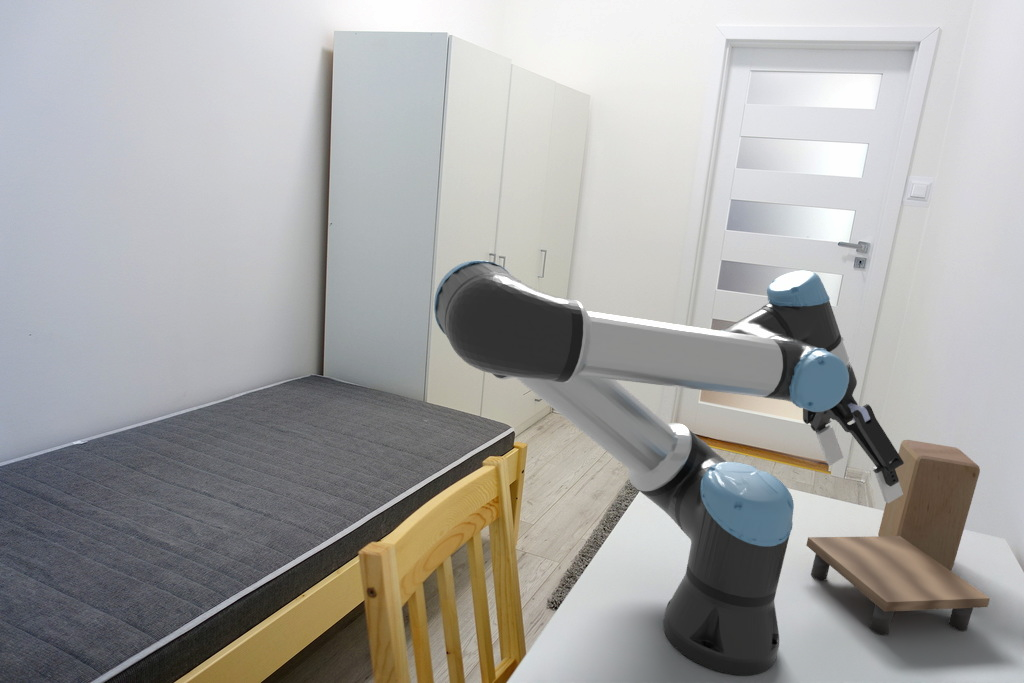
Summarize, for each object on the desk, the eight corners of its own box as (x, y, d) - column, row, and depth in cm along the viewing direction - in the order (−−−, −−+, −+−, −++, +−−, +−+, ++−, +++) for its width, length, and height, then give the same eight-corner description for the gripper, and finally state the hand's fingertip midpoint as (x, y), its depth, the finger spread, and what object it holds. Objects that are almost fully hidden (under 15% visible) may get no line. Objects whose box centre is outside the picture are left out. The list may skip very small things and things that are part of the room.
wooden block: (953, 574, 123) (984, 467, 118) (891, 562, 124) (919, 456, 120) (932, 547, 132) (959, 446, 128) (875, 536, 134) (900, 436, 129)
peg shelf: (877, 639, 101) (886, 602, 100) (800, 569, 118) (808, 537, 117) (979, 634, 105) (990, 598, 104) (891, 567, 122) (899, 536, 121)
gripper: (906, 381, 95) (944, 502, 102) (795, 335, 118) (832, 436, 125) (859, 409, 94) (900, 529, 101) (757, 357, 118) (796, 457, 125)
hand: (863, 478), depth 113 cm, fingers open, 13 cm apart
